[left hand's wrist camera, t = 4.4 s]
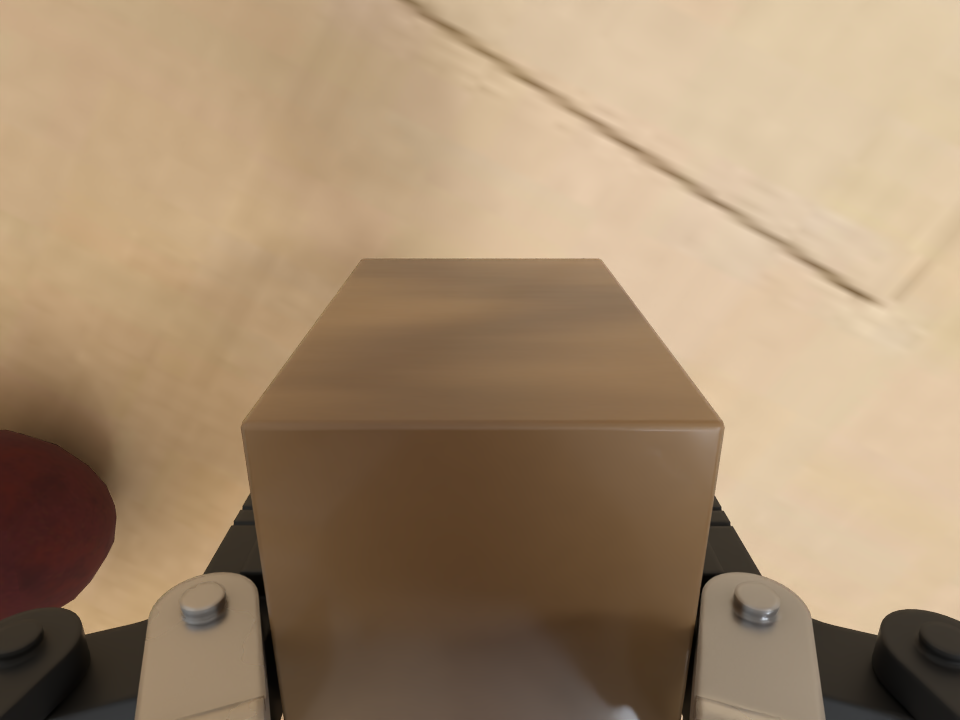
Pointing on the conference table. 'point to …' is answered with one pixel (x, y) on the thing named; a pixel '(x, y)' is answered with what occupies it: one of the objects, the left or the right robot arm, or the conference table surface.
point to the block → (482, 499)
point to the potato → (48, 524)
